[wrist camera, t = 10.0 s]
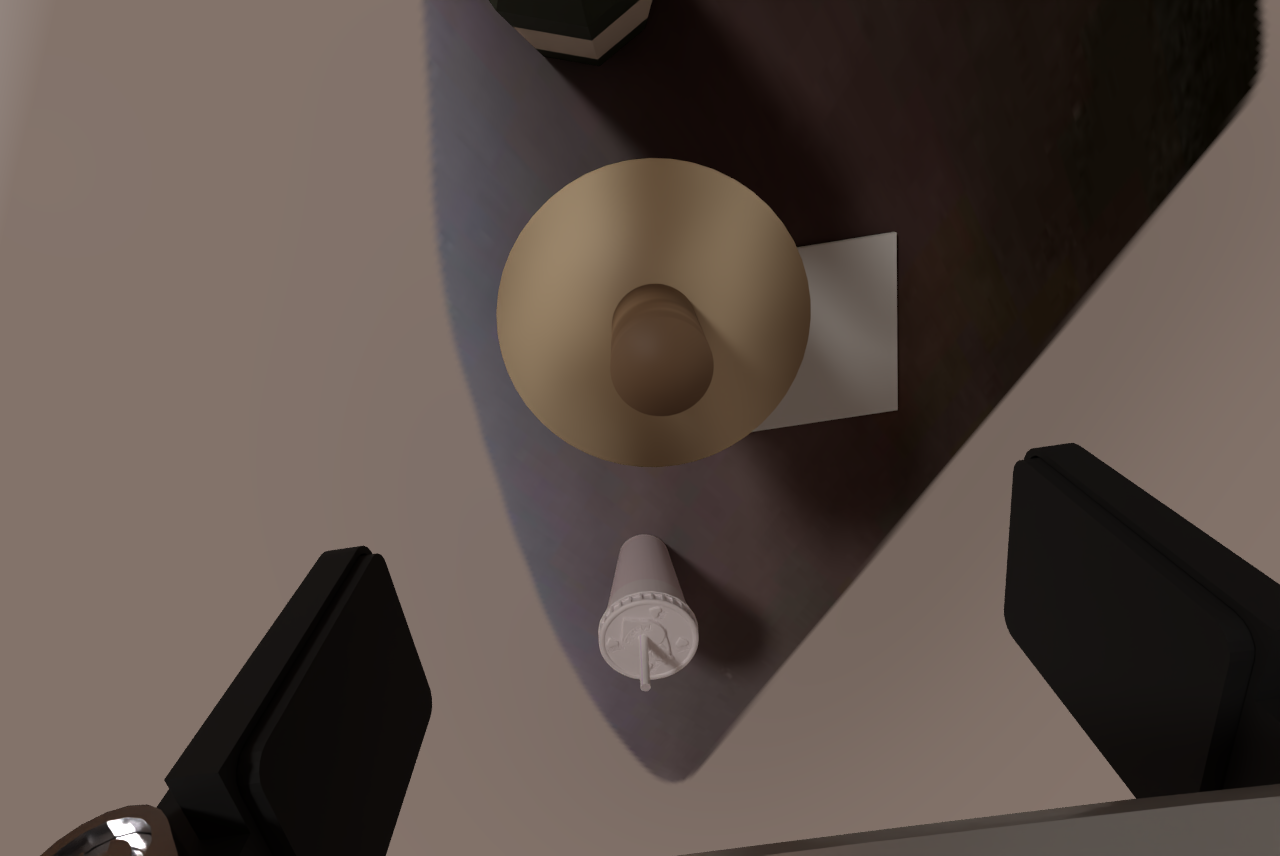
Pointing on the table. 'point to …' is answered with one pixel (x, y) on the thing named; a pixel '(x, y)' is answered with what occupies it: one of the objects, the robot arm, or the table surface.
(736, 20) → the table surface
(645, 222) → the lid
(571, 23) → the wine bottle
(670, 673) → the smoothie
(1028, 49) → the table surface
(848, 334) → the mat
